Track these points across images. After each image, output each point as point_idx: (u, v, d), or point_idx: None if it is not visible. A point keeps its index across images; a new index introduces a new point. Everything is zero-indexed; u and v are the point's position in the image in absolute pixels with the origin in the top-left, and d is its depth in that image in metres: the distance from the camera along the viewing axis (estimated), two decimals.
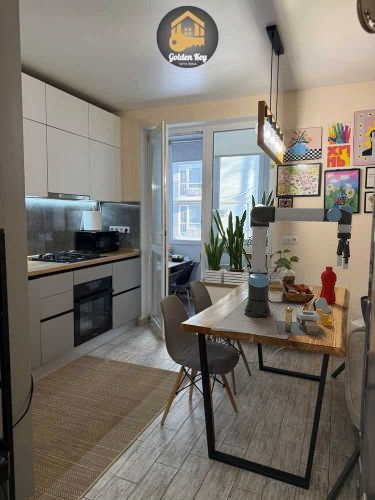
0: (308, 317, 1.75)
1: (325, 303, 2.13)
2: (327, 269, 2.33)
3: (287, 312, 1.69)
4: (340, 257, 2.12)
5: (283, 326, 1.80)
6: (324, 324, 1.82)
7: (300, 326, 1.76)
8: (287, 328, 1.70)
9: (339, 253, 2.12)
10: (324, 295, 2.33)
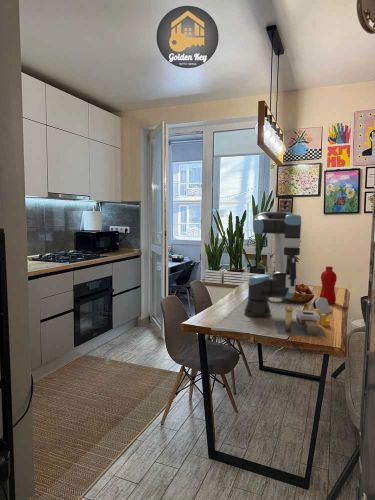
0: (308, 317, 1.75)
1: (325, 303, 2.14)
2: (327, 269, 2.33)
3: (287, 312, 1.69)
4: (289, 277, 1.75)
5: (283, 326, 1.80)
6: (322, 324, 1.82)
7: (300, 326, 1.76)
8: (287, 328, 1.70)
9: (288, 272, 1.75)
10: (324, 295, 2.33)
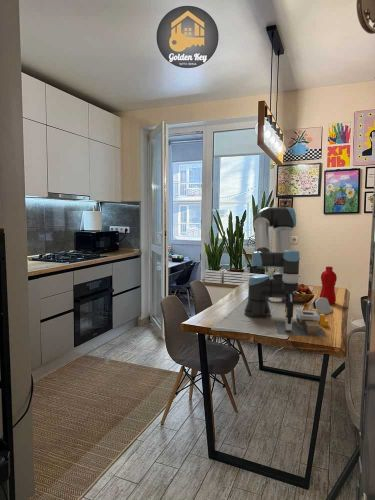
0: (308, 317, 1.75)
1: (326, 303, 2.14)
2: (327, 269, 2.33)
3: None
4: None
5: (283, 326, 1.80)
6: (321, 324, 1.82)
7: (300, 326, 1.76)
8: None
9: None
10: (324, 295, 2.33)
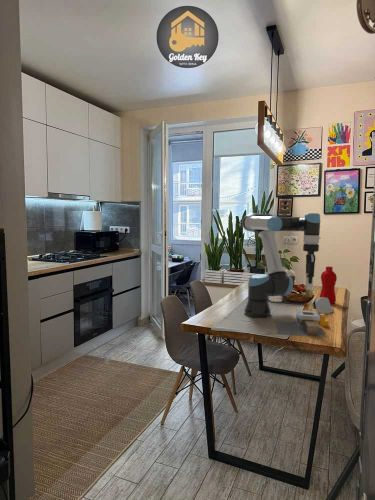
0: (308, 317, 1.75)
1: (327, 303, 2.14)
2: (327, 269, 2.33)
3: None
4: None
5: (283, 326, 1.80)
6: (321, 324, 1.82)
7: (300, 326, 1.76)
8: (308, 293, 1.77)
9: (308, 272, 1.79)
10: (324, 295, 2.33)
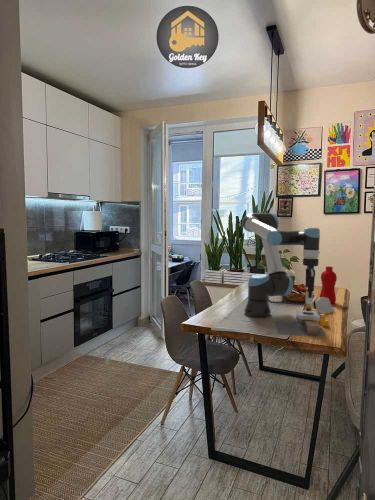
0: (308, 317, 1.75)
1: (327, 303, 2.14)
2: (327, 269, 2.33)
3: None
4: None
5: (283, 326, 1.80)
6: (321, 324, 1.82)
7: (300, 326, 1.76)
8: (308, 307, 1.78)
9: (308, 286, 1.80)
10: (324, 295, 2.33)
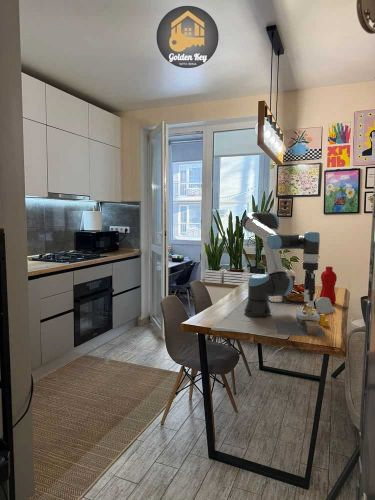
0: (308, 317, 1.75)
1: (328, 303, 2.14)
2: (327, 269, 2.33)
3: (308, 308, 1.77)
4: (308, 291, 1.84)
5: (283, 326, 1.80)
6: (321, 324, 1.82)
7: (300, 326, 1.76)
8: None
9: (306, 286, 1.84)
10: (324, 295, 2.33)
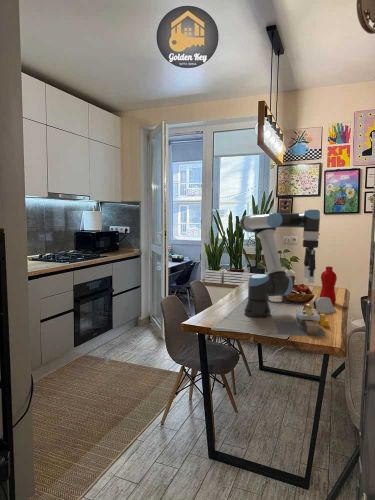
0: (308, 317, 1.75)
1: (329, 303, 2.14)
2: (327, 269, 2.33)
3: (307, 308, 1.77)
4: (307, 268, 1.85)
5: (283, 326, 1.80)
6: (321, 324, 1.82)
7: (300, 326, 1.76)
8: None
9: (306, 263, 1.85)
10: (324, 295, 2.33)
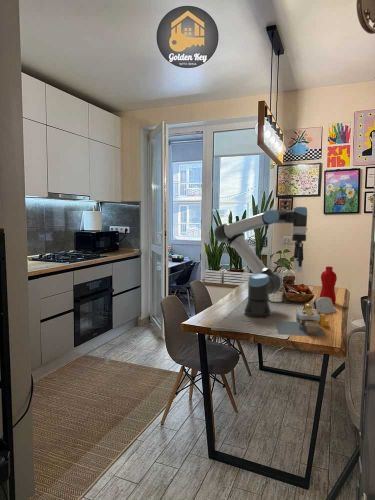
0: (308, 317, 1.75)
1: (329, 303, 2.14)
2: (327, 269, 2.33)
3: (307, 308, 1.77)
4: (297, 260, 2.06)
5: (283, 326, 1.80)
6: (321, 324, 1.82)
7: (300, 326, 1.76)
8: None
9: (296, 255, 2.06)
10: (324, 295, 2.33)
